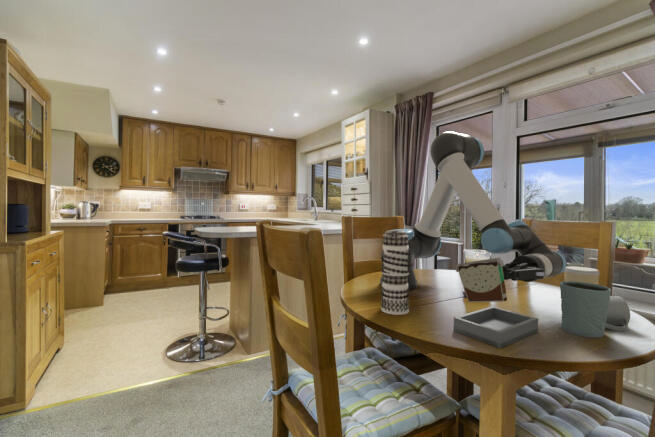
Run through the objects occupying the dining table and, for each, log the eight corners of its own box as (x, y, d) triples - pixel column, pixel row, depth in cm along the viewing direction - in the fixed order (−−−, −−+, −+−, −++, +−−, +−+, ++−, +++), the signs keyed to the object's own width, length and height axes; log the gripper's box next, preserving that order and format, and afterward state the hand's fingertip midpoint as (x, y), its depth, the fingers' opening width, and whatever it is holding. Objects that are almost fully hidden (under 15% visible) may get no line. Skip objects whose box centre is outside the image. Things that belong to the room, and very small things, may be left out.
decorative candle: (416, 311, 94) (417, 231, 94) (394, 317, 89) (395, 231, 89) (395, 304, 102) (396, 229, 102) (374, 308, 97) (374, 230, 97)
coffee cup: (588, 300, 108) (589, 266, 107) (605, 309, 98) (606, 271, 98) (557, 298, 110) (558, 265, 109) (572, 306, 101) (573, 270, 100)
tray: (453, 330, 80) (453, 317, 79) (491, 318, 89) (492, 306, 89) (500, 348, 69) (500, 333, 69) (537, 331, 79) (538, 318, 79)
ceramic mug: (579, 316, 91) (580, 291, 91) (612, 319, 89) (613, 293, 88) (601, 330, 81) (602, 302, 80) (639, 334, 78) (640, 304, 78)
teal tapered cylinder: (550, 323, 86) (551, 280, 85) (589, 324, 84) (591, 281, 84) (576, 338, 75) (577, 289, 75) (621, 340, 74) (622, 291, 74)
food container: (524, 297, 73) (513, 255, 75) (510, 301, 70) (499, 257, 72) (477, 298, 83) (468, 262, 85) (463, 302, 80) (454, 264, 82)
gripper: (557, 284, 83) (512, 297, 70) (507, 276, 94) (460, 286, 81) (557, 257, 83) (512, 265, 70) (507, 252, 94) (460, 258, 81)
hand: (484, 276), depth 76 cm, fingers closed
